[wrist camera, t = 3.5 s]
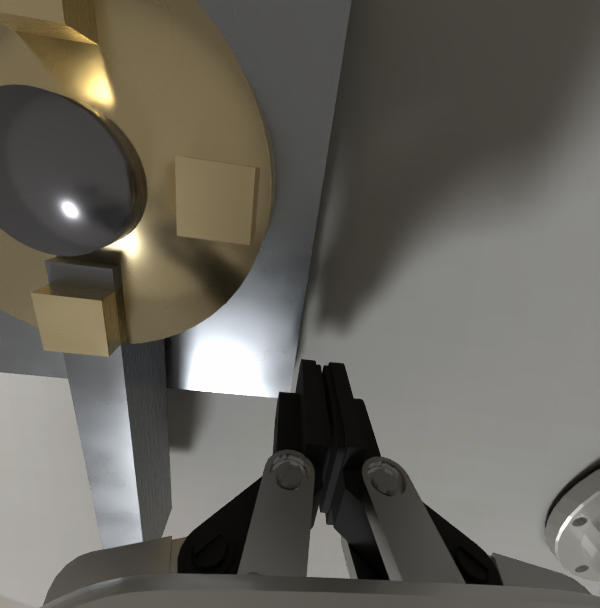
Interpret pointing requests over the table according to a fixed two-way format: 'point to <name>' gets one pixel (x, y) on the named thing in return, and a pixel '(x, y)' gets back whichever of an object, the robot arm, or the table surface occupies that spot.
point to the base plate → (286, 212)
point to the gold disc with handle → (125, 215)
